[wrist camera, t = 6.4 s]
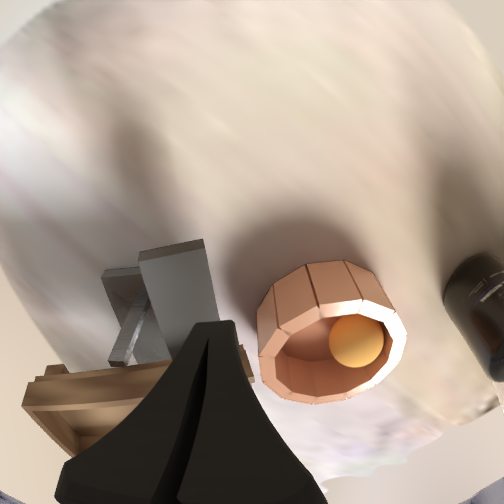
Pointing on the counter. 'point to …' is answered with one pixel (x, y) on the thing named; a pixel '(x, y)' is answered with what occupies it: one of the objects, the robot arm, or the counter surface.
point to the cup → (322, 332)
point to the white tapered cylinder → (500, 393)
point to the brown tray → (136, 376)
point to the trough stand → (133, 319)
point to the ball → (356, 340)
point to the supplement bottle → (480, 310)
